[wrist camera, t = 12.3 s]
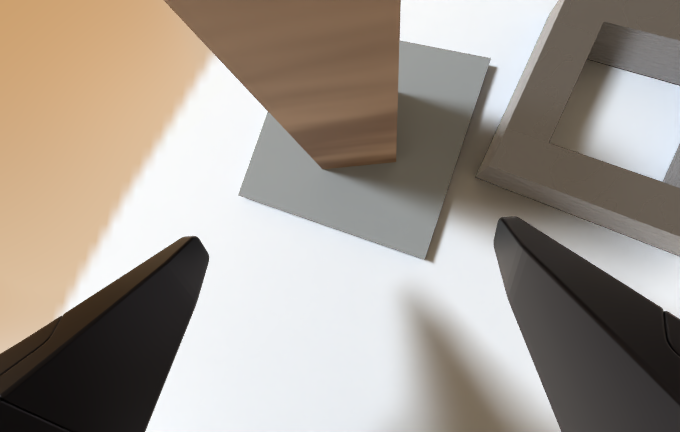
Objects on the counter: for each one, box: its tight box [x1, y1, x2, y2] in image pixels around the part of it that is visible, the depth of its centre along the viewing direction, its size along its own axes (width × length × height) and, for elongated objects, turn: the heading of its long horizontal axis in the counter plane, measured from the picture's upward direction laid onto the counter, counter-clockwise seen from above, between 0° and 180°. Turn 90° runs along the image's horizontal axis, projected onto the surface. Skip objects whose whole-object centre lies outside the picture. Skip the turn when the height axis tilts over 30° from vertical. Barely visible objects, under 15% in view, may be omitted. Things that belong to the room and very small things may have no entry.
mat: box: [239, 41, 491, 259], centre depth 18 cm, size 12×12×1 cm
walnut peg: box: [164, 0, 401, 169], centre depth 11 cm, size 4×4×13 cm
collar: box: [476, 0, 680, 256], centre depth 14 cm, size 10×10×2 cm
